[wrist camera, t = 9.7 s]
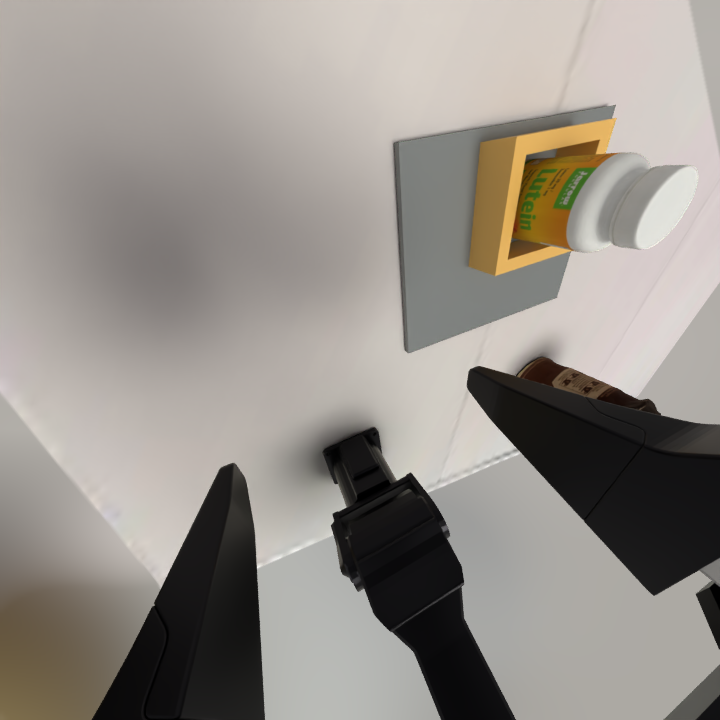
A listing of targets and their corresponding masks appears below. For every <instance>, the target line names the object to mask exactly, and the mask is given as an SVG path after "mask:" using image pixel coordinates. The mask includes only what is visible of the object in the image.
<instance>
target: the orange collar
mask: <svg viewBox="0 0 720 720" xmlns="http://www.w3.org/2000/svg"><path fill="white" fill-rule="evenodd" d="M615 121H616V118H613V119H607V120H601V121H595V122H589V123H583V124H576V125H571V126H565V127H560V128H554V129H549V130H544V131H538V132H533V133H528V134H522V135H517V136H512V137H506V138H501V139H495V140H490V141H485V142H480V152H479V163H478V173H477V184H476V194H475V205H474V216H473V226H472V237H471V247H470V258H469V267H471V268H474V269H476V270H479V271H482V272H485V273H488V274H491V275H493V276H497V275H500V274H503V273H506V272H509V271H512V270H515V269H518V268H521V267H524V266H527V265H530V264H533V263H536V262H539V261H542V260H545V259H548V258H552V257H555V256H558V255H561V254H564V253H567V252H570V251H572V250H567V249H563V248H558V247H553V246H548V245H543V244H538V243H534V242H529V241H523V240H518V241H515V242H511V238H512V232H513V226H514V221H515V215H516V209H517V204H518V198H519V192H520V187H521V181H522V175H523V170H524V164H525V158H526V155H527V154H532V153H537V152H542V151H547V150H551V149H556V148H557V153H556V157H568V156H582V155H594V154H605V153H606V150H607V147H608V144H609V140H610V137H611V134H612V131H613V128H614V125H615Z"/></svg>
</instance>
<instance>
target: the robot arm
mask: <svg viewBox="0 0 720 720" xmlns="http://www.w3.org/2000/svg"><path fill="white" fill-rule="evenodd" d="M467 388H468V390H469V392H470V393H471V394H472V396H473V397H474V398H475V400H476V401H477V402H478V404H479V405H480V406H481V408H482V409H483V410H484V412H485V413H486V414H487V416H488V417H489V418H490V419H491V420H492V422H493V423H494V424H495V425H496V426H497V427H498V428H499V429H500V430H501V432H502V433H503V434H504V435H505V436H506V437H507V438H508V439H509V440H510V441H511V442H512V443H513V445H514V446H515V447H516V448H517V449H518V450H519V451H520V452H521V453H522V454H523V455H524V457H525V458H526V459H527V460H528V461H529V462H530V463H531V464H532V465H533V466H534V467H535V468H536V470H537V471H538V472H539V473H540V474H541V475H542V476H543V477H544V478H545V479H546V480H547V481H548V483H549V484H550V485H551V486H552V487H553V488H554V489H555V490H556V491H557V492H558V493H559V494H560V496H561V497H562V498H563V499H564V500H565V501H566V502H567V503H568V504H569V505H570V506H571V507H572V509H573V510H574V511H575V512H576V513H577V514H578V515H579V516H580V517H581V518H582V519H583V520H584V522H585V523H586V524H587V525H588V526H589V527H590V528H591V529H592V531H593V532H594V533H595V534H596V535H597V536H598V537H599V538H600V539H601V540H602V541H603V542H604V543H605V545H606V546H607V547H608V548H609V549H610V550H611V551H612V552H613V553H614V554H615V555H616V557H617V558H618V559H619V560H620V561H621V562H622V563H623V564H624V565H625V566H626V567H627V568H628V570H629V571H630V572H631V573H632V574H633V575H634V576H635V577H636V578H637V579H638V580H639V582H640V583H641V584H642V585H643V586H644V587H645V588H646V589H647V590H648V591H649V592H650V593H651V594H652V595H654V596H655V595H657V594H658V593H660V592H662V591H664V590H665V589H667V588H669V587H671V586H672V585H674V584H676V583H678V582H679V581H681V580H683V579H684V578H686V577H688V576H690V575H691V574H693V573H695V572H697V571H698V570H700V571H701V572H702V573H703V574H704V575H706V576H707V577H708V578H709V579H711V580H712V581H711V582H709V583H708V584H707V585H706V586H705V587H704V588H702V589H701V590H700V591H699V592H698V593H696V596H697V598H698V601H699V603H700V605H701V608H702V610H703V612H704V614H705V617H706V619H707V622H708V624H709V627H710V629H711V631H712V634H713V636H714V638H715V641H716V643H717V645H718V648H719V649H720V425H716V424H715V425H714V424H700V423H693V422H688V421H683V420H679V419H674V418H670V417H666V416H661V415H657V414H653V413H649V412H644V411H640V410H636V409H632V408H627V407H623V406H619V405H615V404H612V403H608V402H604V401H601V400H597V399H593V398H590V397H586V396H585V397H584V396H583V395H579V394H576V393H572V392H569V391H565V390H562V389H558V388H555V387H551V386H548V385H544V384H541V383H537V382H534V381H530V380H527V379H524V378H520V377H517V376H513V375H510V374H506V373H503V372H499V371H496V370H492V369H489V368H485V367H482V366H477V367H474V368H472V369H470V370H469V373H468V380H467ZM323 455H324V457H325V460H326V463H327V465H328V468H329V471H330V473H331V476H332V478H333V481H334V483H335V484H339V487H340V490H341V493H342V495H343V498H344V501H345V504H346V506H347V508H345V509H343V510H341V511H339V512H338V511H337V512H335V513H333V518H334V522H333V524H332V525H331V528H332V531H333V534H334V538H335V541H336V545H337V552H338V557H339V564H340V569H341V572H342V574H343V575H344V576H347V577H349V578H350V580H351V582H352V583H354V586H355V588H356V589H357V591H358V592H359V591H361V590H362V589H365V592H366V594H367V597H368V600H369V602H370V605H371V608H372V610H373V613H374V615H375V616H376V617H377V618H378V619H379V621H380V622H381V623H382V624H383V625H384V626H385V627H386V628H387V629H388V630H389V631H390V632H393V633H394V634H395V635H396V636H397V637H398V638H399V639H400V640H401V641H402V642H404V643H405V644H406V645H407V646H408V647H409V648H410V649H411V650H412V651H413V652H414V654H415V656H416V659H417V661H418V663H419V666H420V668H421V671H422V673H423V676H424V678H425V681H426V683H427V686H428V688H429V691H430V693H431V696H432V698H433V701H434V703H435V705H436V708H437V711H438V713H439V716H440V718H441V720H516V719H515V717H514V715H513V713H512V711H511V709H510V708H509V705H508V703H507V702H506V700H505V698H504V696H503V694H502V692H501V690H500V688H499V686H498V684H497V682H496V680H495V678H494V676H493V674H492V672H491V670H490V668H489V667H488V665H487V663H486V661H485V659H484V657H483V655H482V653H481V651H480V649H479V647H478V645H477V643H476V641H475V639H474V637H473V635H472V633H471V632H470V630H469V628H468V625H467V623H466V621H465V619H464V613H463V600H462V588H461V586H463V585H464V578H463V573H462V566H461V564H460V562H459V561H458V559H457V557H456V555H455V553H454V551H453V549H452V547H451V545H450V543H449V542H448V540H447V538H448V537H449V536H450V533H449V530H448V527H447V525H446V522H445V520H444V518H443V516H442V515H441V513H440V511H439V509H438V508H437V506H436V505H435V503H434V502H433V501H432V499H431V498H430V496H429V495H428V494H427V493H426V491H425V490H424V489H423V487H422V486H421V485H420V484H419V482H418V481H417V480H416V478H415V477H414V476H413V474H412V473H409V474H407V475H406V476H405V477H403V478H401V479H400V480H398V481H397V480H396V478H395V477H394V475H393V473H392V471H391V469H390V468H389V466H388V464H387V462H386V461H385V459H384V457H383V455H382V450H381V444H380V438H379V432H378V430H377V429H376V428H373V429H370V430H368V431H366V432H364V433H361V434H359V435H357V436H354V437H352V438H350V439H347V440H345V441H343V442H341V443H338V444H336V445H334V446H331V447H329V448H327V449H325V450H324V451H323ZM154 604H155V606H153V607H152V608H151V610H150V612H149V614H148V616H147V618H146V620H145V622H144V624H143V626H142V628H141V630H140V632H139V634H138V636H137V638H136V640H135V642H134V644H133V646H132V648H131V650H130V652H129V654H128V656H127V658H126V659H125V661H124V663H123V665H122V667H121V668H120V670H119V672H118V674H117V676H116V677H115V679H114V681H113V683H112V685H111V687H110V688H109V690H108V692H107V694H106V696H105V697H104V700H103V701H102V703H101V705H100V706H99V708H98V710H97V711H96V713H95V715H94V717H93V718H92V720H265V713H264V693H263V676H262V656H261V638H260V620H259V600H258V582H257V563H256V545H255V530H254V523H253V517H252V512H251V506H250V500H249V495H248V489H247V483H246V480H245V477H244V475H243V474H242V472H241V471H240V469H239V468H238V466H237V465H236V464H235V463H231V464H228V465H226V466H223V467H221V468H220V470H219V471H218V473H217V476H216V478H215V480H214V482H213V484H212V486H211V488H210V490H209V492H208V494H207V496H206V498H205V500H204V502H203V504H202V506H201V508H200V510H199V512H198V514H197V516H196V518H195V520H194V522H193V524H192V526H191V529H190V531H189V533H188V535H187V537H186V539H185V541H184V543H183V545H182V547H181V549H180V551H179V553H178V555H177V557H176V559H175V561H174V563H173V565H172V567H171V569H170V571H169V573H168V575H167V577H166V580H165V582H164V584H163V586H162V588H161V590H160V592H159V594H158V596H157V598H156V600H155V602H154ZM664 720H720V665H719V666H718V667H717V668H716V669H715V670H714V671H713V672H712V673H711V674H710V675H709V676H708V677H707V678H706V679H705V680H704V681H703V682H702V683H700V685H699V686H697V687H696V688H695V689H694V690H693V691H692V693H690V694H689V695H688V696H687V697H686V698H685V699H684V700H683V701H682V702H681V703H680V704H679V705H678V706H677V707H676V708H675V709H674V710H673V711H672V712H671V713H670V714H669V715H668V716H667V717H666V718H665V719H664Z"/></svg>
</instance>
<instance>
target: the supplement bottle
mask: <svg viewBox="0 0 720 720" xmlns="http://www.w3.org/2000/svg"><path fill="white" fill-rule="evenodd" d="M697 184H698V171H697V169H696V168H695V167H694V166H691V165H664V166H657V167H653V168H651V166H650V163H649V161H648V160H647V159H646V158H645V157H644V156H642V155H640V154H637V153H610V154H594V155H582V156H568V157H555V158H539V159H530V160H526V161H525V164H524V170H523V175H522V181H521V187H520V192H519V198H518V204H517V209H516V215H515V221H514V226H513V232H512V238H514V239H519V240H523V241H529V242H534V243H538V244H543V245H548V246H553V247H558V248H563V249H567V250H572V251H577V252H584V253H592V252H597V251H600V250H602V249H604V248H606V247H608V246H610V245H611V244H613V245H616V246H618V247H622V248H631V249H639V250H644V249H649V248H651V247H653V246H654V245H656V244H657V243H659V242H660V241H661V240H663V239H664V238H665V237H666V236H667V235H668V234H669V233H670V232H671V231H672V229H673V228H674V227H675V226H676V224H677V223H678V222H679V220H680V219H681V218H682V216H683V215H684V213H685V211H686V210H687V208H688V206H689V204H690V202H691V200H692V198H693V196H694V193H695V190H696V187H697Z"/></svg>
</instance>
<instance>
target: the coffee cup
mask: <svg viewBox="0 0 720 720" xmlns="http://www.w3.org/2000/svg"><path fill="white" fill-rule="evenodd" d="M517 377H520V378H524V379H527V380H530V381H534V382H537V383H541V384H544V385H548V386H551V387H555V388H558V389H562V390H565V391H569V392H572V393H576V394H579V395H583V396H584V397H585V396H586V397H590V398H593V399H597V400H601V401H604V402H608V403H612V404H615V405H619V406H623V407H627V408H632V409H636V410H640V411H644V412H649V413H653V414H657V415H661V413H659V412H658V411H657V409H656V407H655V404H654V403H653V402H652V401H651V400H649V399H644V400H638V399H636V398H634V397H632V396H630V395H628V394H626V393H624V392H623V391H621V390H619V389H618V388H615V387H612V386H610V385H608V384H606V383H604V382H602V381H599V380H597V379H595V378H593V377H590V376H587V375H585V374H583V373H581V372H579V371H576V370H574V369H572V368H568V367H564V366H561V365H559V364H556V363H554V362H553V361H552V360H551V359H548V358H545V357H542V358H539V359H537V360H535V361H533V362H532V363H530V364H529V365H527V366H526V367H525V368H524V369H523V370H522V371H521V372H520V373H519V374H518V376H517Z"/></svg>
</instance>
